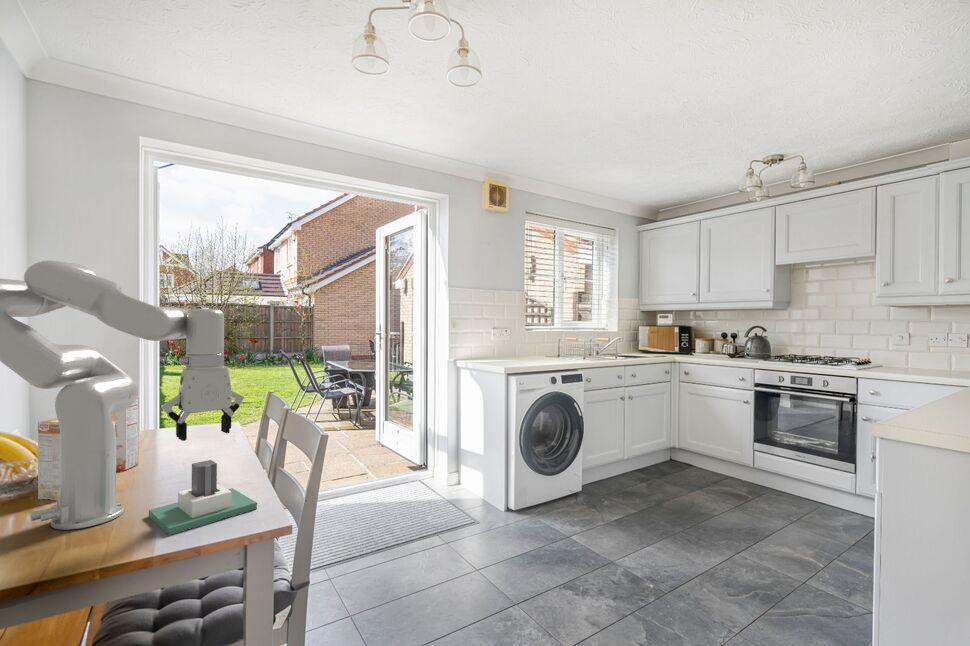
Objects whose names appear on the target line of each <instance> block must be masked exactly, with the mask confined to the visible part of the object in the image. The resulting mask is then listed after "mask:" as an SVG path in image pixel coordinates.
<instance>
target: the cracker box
mask: <svg viewBox="0 0 970 646" xmlns="http://www.w3.org/2000/svg"><path fill="white" fill-rule="evenodd" d="M139 401H140V400H139V398H138V397H137V399H136V401H135V402H134V403H133V404H132V405H131V406H130V407H128V408H127V409H125V410H122V411H120V412H117V413H115V432H116V472H125V471H128V470H131V469H132V468H134V467H137V466H138V465H139V441H140V440H139V431H140V430H139V427H140V426H139V419H140V417H139V416H140V415H139V414H140V413H139V411H140V410H139V409H140V408H139V403H140V402H139Z"/></svg>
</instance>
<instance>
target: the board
mask: <svg viewBox="0 0 970 646" xmlns="http://www.w3.org/2000/svg"><path fill="white" fill-rule="evenodd" d="M227 489H228V490H230V491H231V492H232V507H229V508H225V509H222V510H218V511H215V512H211V513H208V514H204V515H201V516H197V517H194V518H191V517H190V516H189V515H188V514H186V513H185V512H184V511H183V510H181V509H180V508H179V507H178V501H177V502H174V503H170V504H167V505H163V506H159V507H155V508H150V509H148V517H149V518H150V520H152V521H153V522H154V523H155V524H156V523H157V524H156V525H157V526H158V525H159V528H161V529H162V530H163V531H164V532H165V533H166V534H167V535H168V536H172V534H173V535H176V534H178V533H182V532H184V531H185V530H186V531H188V530H187V529H189V530H191V528H192V529H195V528H194V527H196V528H198V527H202V526H205V525H210V524H213V523H214V522H218V520H219V521H221V519H222V520H224V519H223V518H225V519H228V518H227V517H229V518H231V517H230V516H232V517H234V515H235V516H238V515H241V514H240V513H242V514H244V512H245V513H247V511H248V512H251V510H252V511H255V510H257V509H258V502H256V501H255V500H253V499H251V498H250V497H248V496H247V495H245V494H243V493H241V492H240V491H238V490H236V489H234V488H233V487H231V488H227ZM254 509H255V510H254ZM237 514H238V515H237ZM181 531H182V532H181ZM186 531H185V532H186Z"/></svg>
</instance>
